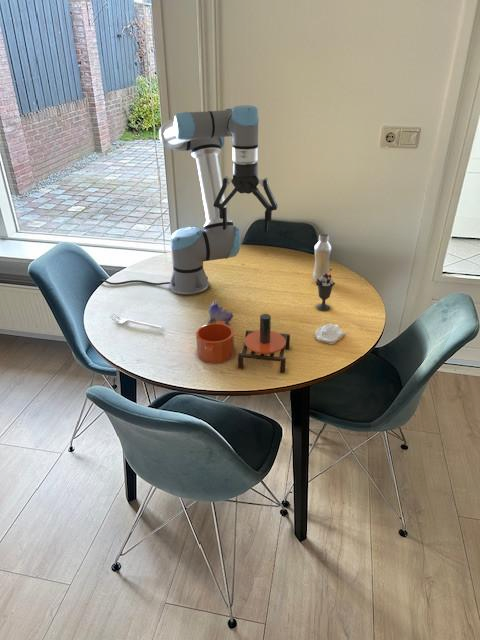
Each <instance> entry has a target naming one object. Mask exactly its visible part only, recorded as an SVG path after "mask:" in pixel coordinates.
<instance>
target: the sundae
mask: <svg viewBox="0 0 480 640" xmlns="http://www.w3.org/2000/svg"><path fill="white" fill-rule="evenodd" d="M332 270H333V269H332V268H330V269H329V272H331V271H332ZM315 284H316V286H317V288H318V289H317V290H318V292H317V293H318V298H320V299H321V303H319V304H317V305H316V309H317V310H318V311H321V312H327V311H329V310H330V309H331V307H330V305H329V304H326V300H328V299H329V298H330V297H331V295H332V291H333V287H334V286H335V285H336V283H335V281H334V279H333V278H332V274H329V275H328V274H327V273H325V274H324V275H323V276H322V277H320V279H317V281H316V283H315Z"/></svg>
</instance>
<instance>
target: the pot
mask: <svg viewBox="0 0 480 640" xmlns="http://www.w3.org/2000/svg"><path fill="white" fill-rule="evenodd" d="M195 338H196V339H195V340H196V353H197V357H198V358H199V360H201V361H203V362H206V363H210V364H220V363H224V362H227V361H229V360H230V359H232V358H233V356H234V353H235V331H234V329H233V327H231V326H230V325H229V324H228V325H226V324H225V321H217V323H216V322H212V323H210V324H208V323H206V324H204V325H203V324H202V325H201V326H200V327H199V328H197V330H196V332H195Z"/></svg>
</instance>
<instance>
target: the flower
mask: <svg viewBox="0 0 480 640" xmlns="http://www.w3.org/2000/svg"><path fill="white" fill-rule="evenodd" d="M208 308H209V309H208V315H209V320H207V321H208V322H207V324H210V323H213V322H214V323H217V321H225V324H226V325H228V326H229V322H230V321H232V319H233V318H234V315H233V313H232V312H230V311H227V309H224V305H221V306H219V304H218V302H216V300H215V299H214V300H213V302H212V303H211V305H210V306H209V307H208Z"/></svg>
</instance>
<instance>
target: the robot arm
mask: <svg viewBox="0 0 480 640" xmlns="http://www.w3.org/2000/svg"><path fill="white" fill-rule="evenodd" d="M259 122H260V120H259V110H258V107H256V106H255V105H248V104H247V105H246V104H244V105H242V104H241V105H235V106H233V107H232V108H225V109H223V110H208V111H183V112H177V113H176V114H175V115H174V117H173V119H168V120H165V121H164V122H163V123H162V124H161V125H160V126H159V130H158V137H159V140H160V142H161V144H162V145H163V146H165V147H166V148H167V149H170V150H173V151H178V152H186V151H190V154H191V158H193V159H195V162H196V166H197V167H196V168H197V173H198V179H199V184H200V192H201V196H202V203H203V209H204V214H205V215H204V216H205V220H206V221H205V223H204V225H203V230H202V229H201V228H200V227H198V226H187V227H182V228H179V229H177V230H175V231H174V232H173V233H172V234H171V237H170V249H171V259H172V260H171V261H172V274H171V277H170V281H164V282H163V281H162V282H150V281H148V280H147V281H145V280H140V279H133V280H132V279H131V280H126V281H121V282H111V281H108V280H107V279H100V280H98V283H102V282H104V283H106V284H109V285H111V286H113V285H115V286H117V285H124V284H129V283H142V284H147V285H153V286H162V285H169V290H170V291H171V292H172V293H174V294H176V295H180V296H196V295H200V294H202V293H204V292H206V291H207V290H208V289H209V287H210V286H209V277H208V276H207V274H206V271H205V269H204V262H210V261H211V262H212V261H217V260H225V259H226V260H227V259H229V258H235V257H237V255H238V254H239V252H240V249H241V244H242V242H241V241H242V239H241V231H240V229H239V227H238V226H235V225H234V222H233V220H232V219H231V218H229V214H228V209H227V205H228V203H229V201H230V200H231V199H232V198H233V197H235V195H236V194H237V192H238V193H239V194H249V195H250V194H252V195H253V196H255V197H256V198H257V200H258V201H259V202H260V204H261V205H262V206H263V207H264V209H265V211H264V233H267V232H268V230H269V222H271V221H272V218H273V217H272V216H273V211H277V209H278V207H279V206H278V205H279V204H278V203H277V200H276V199H275V196H274V194H273V192H272V190H271V187H270V186H269V179H268V178H267V177H265V178H259V175H258V173H259V171H258V170H259V164H258V162H257V161H258V160H259ZM228 137H232V161H233V163H232V177H229V176H227V175H225V176H224V178H222V177H223V176H222V171H221V165H220V159H219V156H220V154H221V153H222V148H224V146H225V138H228ZM230 184H232V185H233V187H234V188H233V189H232V191H230V192H229V194H228V195H227V197H225V192H226V190H227V187H228V186H229V185H230ZM259 184H260V186H261V187H263V190H264V193H265V194H266V197H267V198H266V197H265V196H264V195H263V193H262V192H261V191H260V189H259V188H258V185H259ZM267 199H268V200H267Z"/></svg>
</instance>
